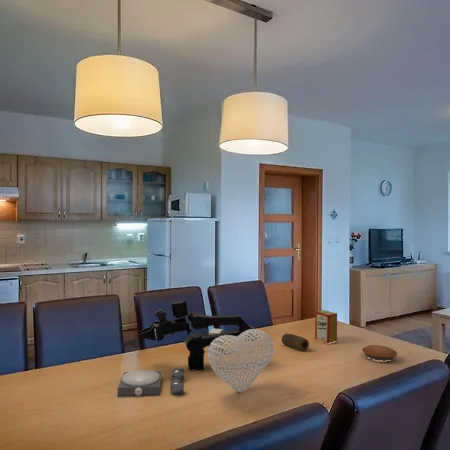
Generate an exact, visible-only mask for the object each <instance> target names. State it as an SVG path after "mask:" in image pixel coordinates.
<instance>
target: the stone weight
mask: <svg viewBox="0 0 450 450" xmlns="http://www.w3.org/2000/svg"><path fill="white" fill-rule="evenodd" d="M281 343H282V344H283V345H285V346H287V347H288V348H291V347H292V349H294V348H295V350H297V349H298V351H302V352H303V351H304V352H305V351H307V350H308V348H309V346H310V343H309V340H308V339H307V338H305V337H303V336H300V335H296V334H293V333H284V334H283V335H281Z"/></svg>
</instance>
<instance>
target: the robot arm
mask: <svg viewBox="0 0 450 450" xmlns="http://www.w3.org/2000/svg"><path fill="white" fill-rule="evenodd" d="M170 307H171V312H172V317H175V319H170V318H169V319H168V318H167V312H166V311H163V310H162V309H161V308H160V309H158V310H156V311H154V315H155V316H156V317H157V319H158V320H153V322H151V324H150V325H149V326H148V327H147V328H146V327H145V328H143V329H142V330H139V331H138V335H137V338H139V339H145V340H151V341H155V342H156V341H157V342H159V341H160V342H161V341H163V340H164V339H165V336H168V335H174V334H177V333H182V332H186V333H185V334H186V335H187V336H186V338H185V340H184V344H185V346H186V349H187V351H188V352H189V355H188V356H187V368H188V370H189V371H192V370H194V371H195V370H199V371H202V370H205V353H206V351H205V348H206V347H208V346H210V344H211V343H212V341H213V340H214V339H216V338H218V337H219V336H224V335H231V336H239V335H240V334H241V333H243V332H244V331H246V330H249V331H250V329H256V328H255V327H254V326H253V325H251V324H248V323H247V322H245V320H244V319H243V318H242V317H241V315H239V314H231V315H230V314H229V315H228V314H227V315H208V314H202V313H197V312H195V313H192V312H191V311H189V310H188V303H187V300H186V299H185V300H174V301H171V302H170ZM186 318H187V319H186ZM187 320H188V321H187ZM190 326H191V327H190ZM213 326H217V327H219V326H237V327H238V328H237V329H235V330H230V331H226V332H224V331H223V333H218V334H213V335H209V334H208V335H202V333H201V332H199V331H198V332H196V333H191V332H192V331H193V330H192V329H194V330H202V329H206V328H208V327H213ZM253 332H254V331H253ZM249 334H251V333H249ZM252 335H253V334H252ZM252 335H251V336H252ZM257 335H259V334H257ZM257 335H256V336H257ZM246 336H248V335H246ZM254 336H255V335H254ZM254 336H253V337H254ZM249 337H250V336H248V338H249ZM227 338H229V337H227ZM243 339H244V338H243ZM245 339H247V338H245ZM251 339H253V338H251ZM251 339H250V340H251ZM255 340H256V341H257V337H256V338H255ZM240 341H241V340H240ZM245 341H246V340H245ZM248 341H249V339H248ZM253 341H254V340H252V342H253ZM215 342H216V341H215ZM215 342H214V343H215ZM218 342H219V341H217V343H218ZM225 342H226V341H225ZM249 342H250V341H249ZM220 343H221V341H220ZM223 343H224V342H223Z"/></svg>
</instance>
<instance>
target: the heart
mask: <svg viewBox="0 0 450 450" xmlns="http://www.w3.org/2000/svg"><path fill="white" fill-rule="evenodd" d="M253 331H254V332H253ZM249 333H251V334H249ZM252 334H253V335H252ZM257 334H258V335H257ZM246 335H248V336H250V337H249V338H248V336H246ZM251 335H252V336H251ZM254 335H255V336H254ZM256 335H257V336H256ZM253 336H254V337H253ZM227 337H229V338H227ZM256 337H257V338H256ZM243 338H244V339H243ZM245 338H247V339H245ZM251 338H253V339H251ZM255 338H256V340H255ZM248 339H249V341H248ZM250 339H251V340H250ZM240 340H241V341H240ZM245 340H246V341H245ZM252 340H254V341H252ZM215 341H216V342H215ZM217 341H219V342H218V343H217ZM220 341H221V343H220ZM225 341H226V342H225ZM214 342H215V343H214ZM223 342H224V343H223ZM219 344H220V345H221V344H222V345H223V346H222V345H221V346H220V345H219ZM214 346H215V347H214ZM217 346H218V347H217ZM274 346H275V345H274V342H273V340H272V338H271V336H270V335H269V334H268V333H267V332H266V331H264V330H261V329H257V328H255V329H250V331H249V330H246V331H244V332H243V333H241V334H240V335H239V336H231V335H224V336H219V337H218V338H216V339H214V340H213V341H212V343H211V344H210V346H209V349H208V348H207V349H208V350H207V360H208V362H209V365H210V368H211V369H212V371H213V372H214V373H215V374H216V376H218V377H219V378H220V379H221V380H223V381H224V382H225V383H226V384H227V385H228V386H229V387H230V388H231V389H233V390H234V391H236V392H238V393H242V392H244V391H246V390H247V389H249V387H250V385H252V383H253V382H254V381H255V380H256V379H257V377H258V376H259V375H260V374H261V372H262V371H264V369H265V368H266V367H267V366H268V364H270V362H271V360H272V359H273V356H274V351H275V347H274ZM213 348H215V349H214V350H213ZM216 348H217V351H215V350H216ZM219 348H221V349H220V352H218V349H219ZM222 348H223V350H222ZM256 348H257V349H256ZM209 350H210V351H211V352H209ZM221 350H222V351H221ZM215 352H216V354H217V355H216V354H215ZM210 353H211V354H210ZM218 353H219V355H218ZM228 358H229V359H228ZM255 359H256V360H255ZM235 372H236V373H235Z"/></svg>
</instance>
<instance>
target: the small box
mask: <svg viewBox="0 0 450 450" xmlns="http://www.w3.org/2000/svg"><path fill="white" fill-rule="evenodd" d="M218 333H224V330H223V329H222V328H211V330H209V332H208V335H213V334H218ZM219 345H220V344H219ZM221 345H222V344H221ZM221 345H220V346H221ZM223 345H224V344H223ZM223 345H222V346H223ZM207 347H208V348H207V349H209V346H207ZM214 347H215V346H214ZM217 347H218V346H217ZM223 347H224V346H223ZM214 349H215V348H213V350H214ZM220 349H221V348H219V349H218V352H220ZM223 350H224V349H223V348H222V350H221V352H223ZM215 351H217V348H216V350H215ZM209 352H211V351H210V350H209ZM210 354H211V353H210ZM215 354H216V352H215ZM218 355H219V353H218ZM216 356H217V354H216ZM219 356H220V355H219Z"/></svg>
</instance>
